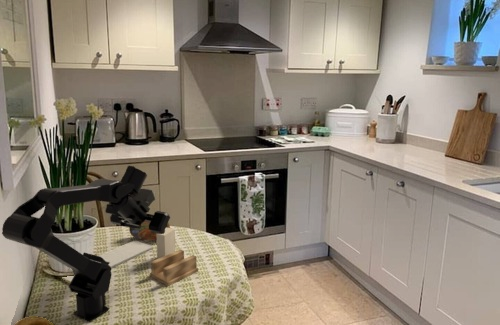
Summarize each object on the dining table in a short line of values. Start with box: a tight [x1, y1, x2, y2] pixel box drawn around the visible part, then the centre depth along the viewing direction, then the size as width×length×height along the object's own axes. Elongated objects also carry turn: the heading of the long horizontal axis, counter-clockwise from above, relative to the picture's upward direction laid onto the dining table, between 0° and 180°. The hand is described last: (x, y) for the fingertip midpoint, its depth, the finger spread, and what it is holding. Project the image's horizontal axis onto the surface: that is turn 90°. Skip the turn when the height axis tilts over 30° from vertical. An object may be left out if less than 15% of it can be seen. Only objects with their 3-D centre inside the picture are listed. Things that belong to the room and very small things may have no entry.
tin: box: [128, 221, 171, 241], centre depth 151 cm, size 15×3×8 cm, turn 88°
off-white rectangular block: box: [156, 227, 176, 260], centre depth 135 cm, size 6×3×10 cm, turn 157°
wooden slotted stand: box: [149, 248, 199, 287], centre depth 126 cm, size 12×9×5 cm
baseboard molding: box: [61, 236, 154, 284], centre depth 134 cm, size 31×3×12 cm
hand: (152, 229), depth 127 cm, fingers open, 9 cm apart
